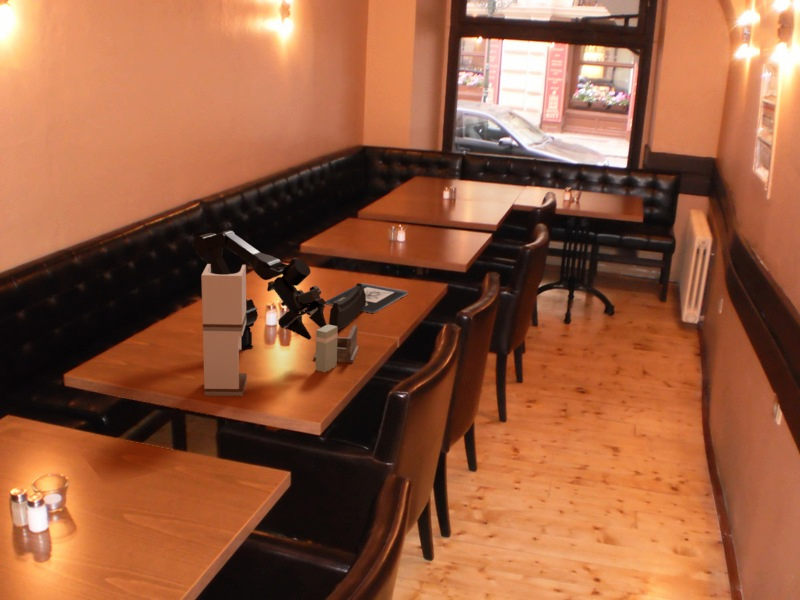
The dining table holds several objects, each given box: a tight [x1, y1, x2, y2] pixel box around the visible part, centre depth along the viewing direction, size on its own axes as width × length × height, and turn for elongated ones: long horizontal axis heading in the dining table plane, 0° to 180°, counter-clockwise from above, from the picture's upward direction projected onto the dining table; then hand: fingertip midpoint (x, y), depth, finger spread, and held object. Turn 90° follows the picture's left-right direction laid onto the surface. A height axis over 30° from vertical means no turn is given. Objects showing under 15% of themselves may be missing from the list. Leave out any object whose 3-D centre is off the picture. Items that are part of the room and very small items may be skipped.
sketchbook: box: [324, 282, 409, 314], centre depth 332 cm, size 22×30×2 cm
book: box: [315, 323, 339, 374], centre depth 260 cm, size 4×6×13 cm, turn 153°
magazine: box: [328, 282, 366, 331], centre depth 303 cm, size 17×3×30 cm
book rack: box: [313, 324, 360, 364], centre depth 272 cm, size 12×13×8 cm
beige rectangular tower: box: [201, 263, 248, 397], centre depth 239 cm, size 11×11×35 cm
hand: (318, 334), depth 260 cm, fingers open, 9 cm apart
